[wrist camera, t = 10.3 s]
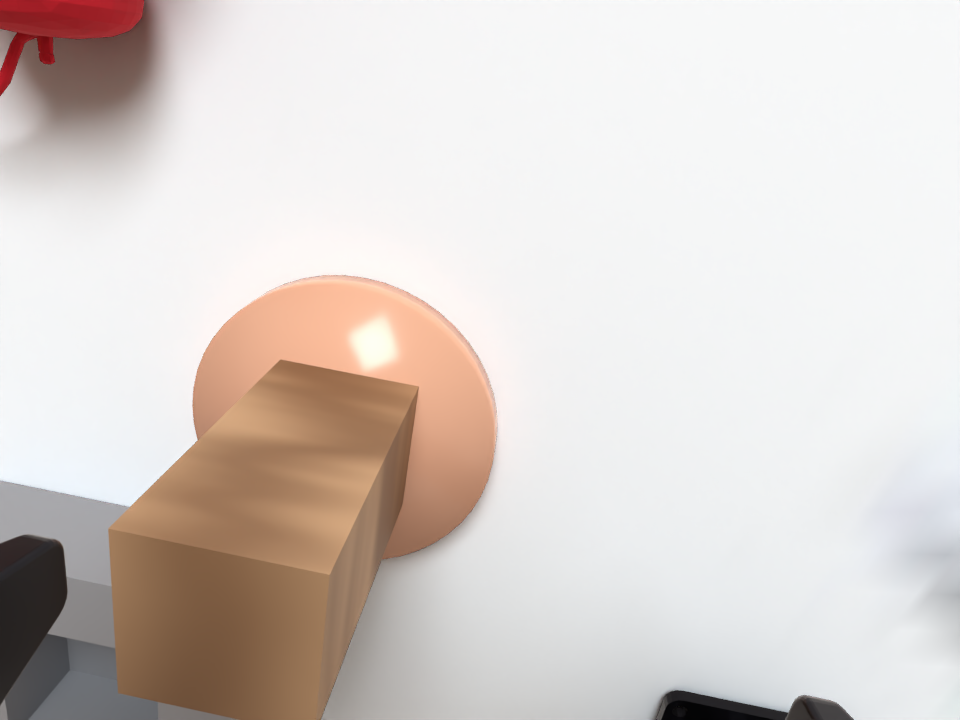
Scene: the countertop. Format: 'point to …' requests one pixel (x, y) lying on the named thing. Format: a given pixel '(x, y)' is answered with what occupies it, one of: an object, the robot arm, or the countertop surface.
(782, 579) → the countertop surface
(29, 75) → the countertop surface
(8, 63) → the alarm clock
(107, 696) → the pocket holder
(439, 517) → the terracotta plate
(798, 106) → the countertop surface
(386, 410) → the walnut block
